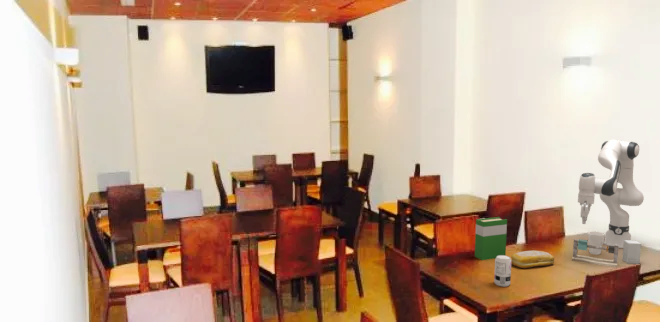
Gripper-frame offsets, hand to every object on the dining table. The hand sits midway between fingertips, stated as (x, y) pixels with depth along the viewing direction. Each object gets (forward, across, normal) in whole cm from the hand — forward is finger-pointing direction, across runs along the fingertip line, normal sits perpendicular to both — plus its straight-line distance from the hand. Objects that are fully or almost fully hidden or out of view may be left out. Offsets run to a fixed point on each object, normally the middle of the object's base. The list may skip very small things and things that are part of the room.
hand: (584, 222), depth 308 cm
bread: (+24, -25, +25) cm, 43 cm away
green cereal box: (+24, -22, +50) cm, 60 cm away
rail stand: (+24, 0, -7) cm, 25 cm away
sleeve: (+17, 0, 0) cm, 17 cm away
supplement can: (+25, -66, +34) cm, 78 cm away
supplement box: (+24, +11, -26) cm, 37 cm away
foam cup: (+24, +19, -6) cm, 31 cm away
